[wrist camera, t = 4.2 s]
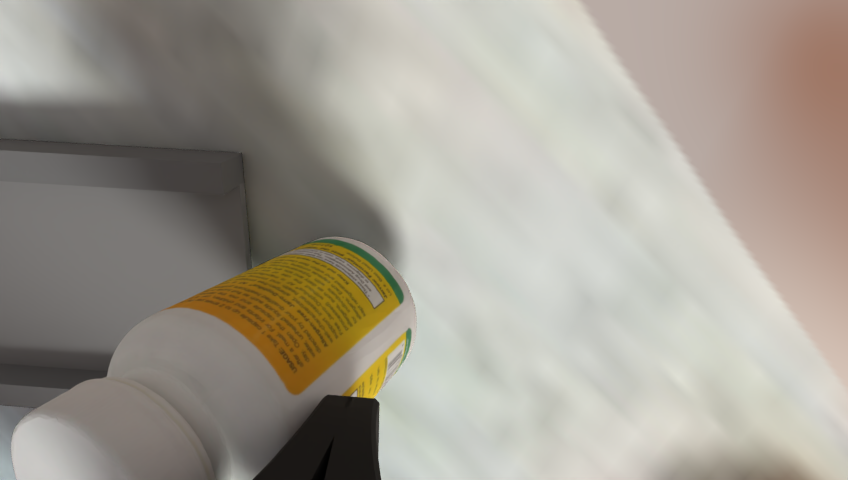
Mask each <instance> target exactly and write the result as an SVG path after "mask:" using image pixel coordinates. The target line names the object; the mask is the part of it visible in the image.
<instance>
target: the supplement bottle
mask: <svg viewBox="0 0 848 480" xmlns="http://www.w3.org/2000/svg"><path fill="white" fill-rule="evenodd" d="M416 328H417V318H416V310H415V305H414V301H413V298H412V296H411V293H410V290H409V288H408V286H407V284H406V282H405V281H404V279H403V278H402V276H401V275H400V274H399V272H398V271H397V270H396V269H395V268H394V267H393V266H392V264H391V263H390V262H389V261H388V260H387V259H386V258H385V257H383V256H382V255H381V254H380V253H379V252H377V251H376V250H374V249H373V248H372V247H370V246H368V245H366V244H364V243H362V242H360V241H357V240H353V239H350V238H344V237H325V238H320V239H316V240H314V241H311V242H309V243H306V244H304V245H302V246H300V247H298V248H296V249H293V250H291V251H289V252H286V253H284V254H282V255H280V256H277V257H275V258H273V259H271V260H269V261H267V262H265V263H263V264H261V265H258V266H256V267H254V268H252V269H250V270H248V271H246V272H243V273H241V274H239V275H237V276H235V277H233V278H231V279H228V280H226V281H224V282H222V283H220V284H218V285H216V286H213V287H211V288H209V289H207V290H205V291H203V292H201V293H198V294H196V295H194V296H192V297H190V298H188V299H186V300H184V301H181V302H179V303H177V304H175V305H173V306H171V307H168V308H166V309H164V310H162V311H159V312H157V313H155V314H153V315H151V316H150V317H148V318H146V319H144V320H143V321H141V322H140V323H139V324H137V325H136V326H135V327H133V328H132V329H131V330H130V331H129V332H128V333H127V334H126V336H125V337H124V338H123V339H122V341H121V342H120V343H119V345H118V347H117V348H116V350H115V352H114V354H113V356H112V359H111V362H110V365H109V368H108V373H107V377H104V378H101V379H90V380H86V381H84V382H82V383H79V384H77V385H76V386H74V387H73V388H71V389H70V390H68V391H67V392H65V393H63V394H61V395H59V396H58V397H56V398H54V399H52V400H50V401H49V402H47V403H45V404H43V405H41V406H40V407H38V408H36V409H34V410H33V411H31V412H30V413H29V414H27V415H26V416H25V417H23V418H22V419H21V420H20V421H19V423H18V424H17V425H16V427H15V429H14V431H13V435H12V439H11V457H12V463H13V468H14V472H15V476H16V479H17V480H253V478H254V477H255V476H256V475H257V474H258V473H259V472H260V471H261V470H262V469H263V468H264V467H265V466H266V465H267V464H268V463H269V462H270V461H271V460H272V459H273V458H274V457H275V455H276V454H277V453H278V452H279V451H280V450H281V449H282V448H283V446H284V445H285V444H286V443H287V442H288V441H289V440H290V439H291V437H292V436H293V435H294V434H295V433H296V431H297V430H298V429H299V428H300V427H301V425H302V424H303V423H304V422H305V421H306V419H307V418H308V417H309V416H310V414H311V413H312V412H313V410H314V409H315V408H316V407H317V405H318V404H319V403H320V401H321V400H322V399H323V398H324V397H325V396H326V395H339V396H351V397H363V398H374V397H375V396H376V395H377V394H378V392H379V391H380V390H381V389H382V388H383V387H384V386H385V384H386V383H387V382H388V381H389V380H390V379H391V378H392V376H393V375H394V374H395V373H396V372H397V370H398V369H399V368H400V367H401V366H402V364H403V363H404V362H405V360H406V359H407V357H408V356H409V354H410V352H411V349H412V347H413V345H414V341H415V337H416Z"/></svg>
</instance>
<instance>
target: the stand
mask: <svg viewBox="0 0 848 480" xmlns="http://www.w3.org/2000/svg"><path fill="white" fill-rule="evenodd" d="M250 269H252V266H251V254H250V243H249V231H248V220H247V208H246V197H245V185H244V174H243V162H242V153H234V152H217V151H199V150H182V149H165V148H148V147H130V146H113V145H96V144H78V143H61V142H44V141H26V140H9V139H0V405H5V406H18V407H31V408H38V407H40V406H41V405H43V404H45V403H47V402H49V401H50V400H52V399H54V398H56V397H58V396H59V395H61V394H63V393H65V392H67V391H68V390H70V389H71V388H73V387H74V386H76V385H77V384H79V383H82V382H84V381H86V380H90V379H101V378H104V377H107V373H108V368H109V365H110V362H111V359H112V356H113V354H114V352H115V350H116V348H117V347H118V345H119V343H120V342H121V341H122V339H123V338H124V337H125V336H126V334H127V333H128V332H129V331H130V330H131V329H132V328H133V327H135V326H136V325H137V324H139V323H140V322H141V321H143V320H144V319H146V318H148V317H150V316H151V315H153V314H155V313H157V312H159V311H162V310H164V309H166V308H168V307H171V306H173V305H175V304H177V303H179V302H181V301H184V300H186V299H188V298H190V297H192V296H194V295H196V294H198V293H201V292H203V291H205V290H207V289H209V288H211V287H213V286H216V285H218V284H220V283H222V282H224V281H226V280H228V279H231V278H233V277H235V276H237V275H239V274H241V273H243V272H246V271H248V270H250Z"/></svg>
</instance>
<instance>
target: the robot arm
mask: <svg viewBox="0 0 848 480" xmlns="http://www.w3.org/2000/svg"><path fill="white" fill-rule="evenodd" d="M378 443H379V402H378V401H377V400H376V399H375V398H363V397H351V396H339V395H326V396H325V397H324V398H323V399H322V400H321V401H320V403H319V404H318V405H317V407H316V408H315V409H314V410H313V412H312V413H311V414H310V416H309V417H308V418H307V419H306V421H305V422H304V423H303V424H302V425H301V427H300V428H299V429H298V430H297V431H296V433H295V434H294V435H293V436H292V437H291V439H290V440H289V441H288V442H287V443H286V444H285V445H284V446H283V448H282V449H281V450H280V451H279V452H278V453H277V454H276V455H275V457H274V458H273V459H272V460H271V461H270V462H269V463H268V464H267V465H266V466H265V467H264V468H263V469H262V470H261V471H260V472H259V473H258V474H257V475H256V476H255V477H254V478H253V480H381V476H380V469H379V461H378Z"/></svg>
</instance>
